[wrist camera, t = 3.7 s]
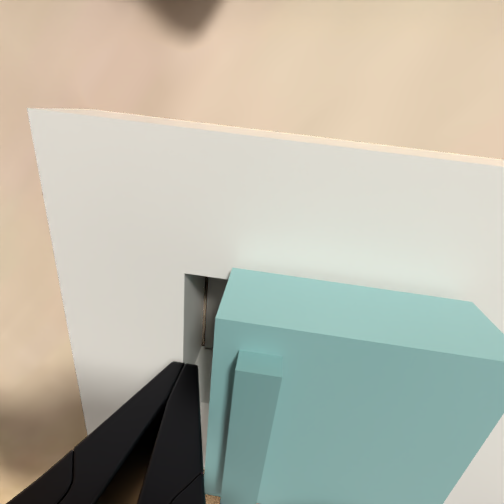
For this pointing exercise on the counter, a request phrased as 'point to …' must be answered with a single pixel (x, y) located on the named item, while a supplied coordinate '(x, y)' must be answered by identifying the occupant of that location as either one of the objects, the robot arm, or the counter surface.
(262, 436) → the block
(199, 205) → the socket plate
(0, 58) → the counter surface
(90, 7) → the counter surface
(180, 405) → the robot arm
